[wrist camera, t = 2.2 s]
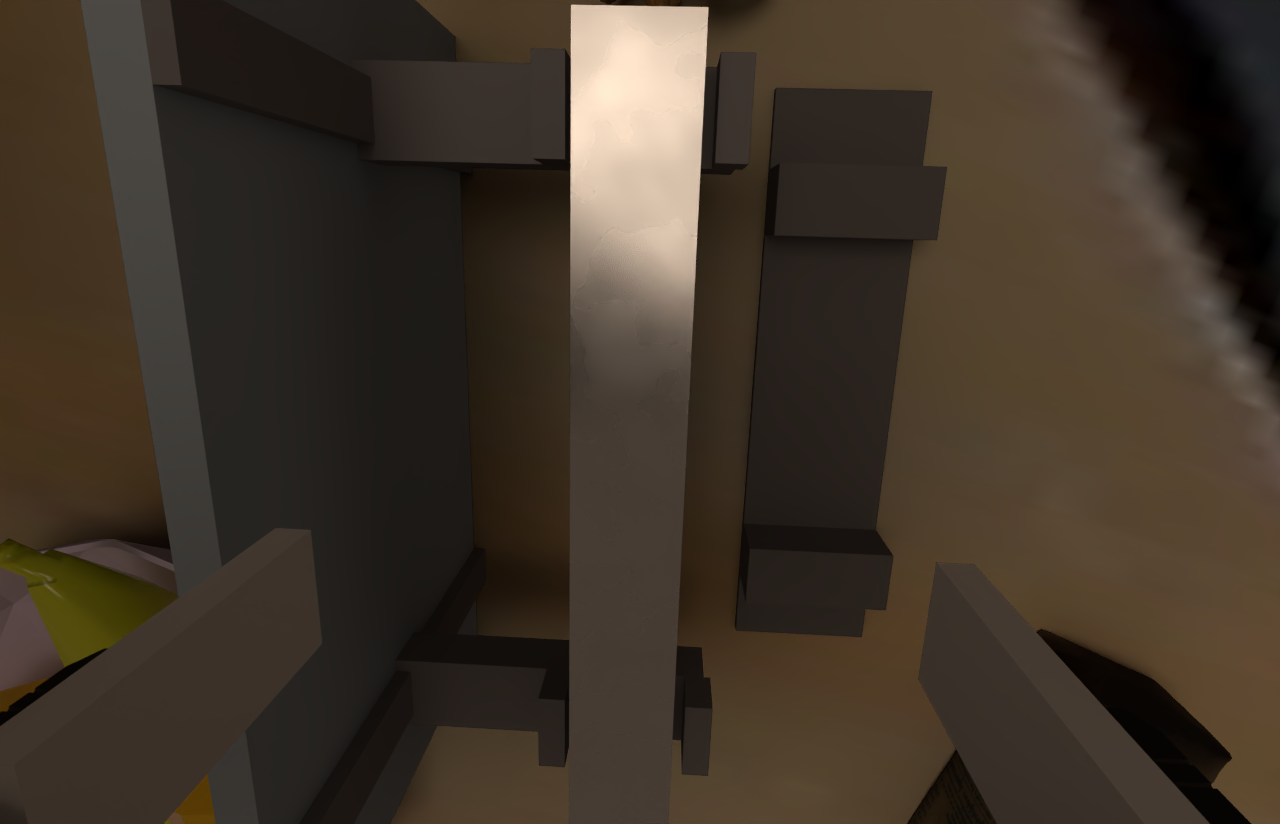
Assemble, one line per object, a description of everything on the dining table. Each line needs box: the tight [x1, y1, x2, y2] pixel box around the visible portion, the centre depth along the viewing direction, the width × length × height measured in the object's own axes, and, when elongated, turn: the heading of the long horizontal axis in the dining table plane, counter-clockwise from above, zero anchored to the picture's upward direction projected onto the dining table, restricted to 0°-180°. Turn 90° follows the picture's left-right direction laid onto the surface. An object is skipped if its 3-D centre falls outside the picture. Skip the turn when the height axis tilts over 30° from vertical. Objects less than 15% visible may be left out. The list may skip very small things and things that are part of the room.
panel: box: [81, 0, 756, 824], centre depth 25 cm, size 14×32×20 cm, turn 178°
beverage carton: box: [908, 630, 1232, 824], centre depth 37 cm, size 8×19×7 cm, turn 157°
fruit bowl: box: [0, 539, 216, 824], centre depth 36 cm, size 28×27×11 cm
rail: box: [569, 5, 708, 824], centre depth 22 cm, size 4×26×4 cm, turn 178°
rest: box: [735, 88, 947, 637], centre depth 33 cm, size 7×28×4 cm, turn 178°
